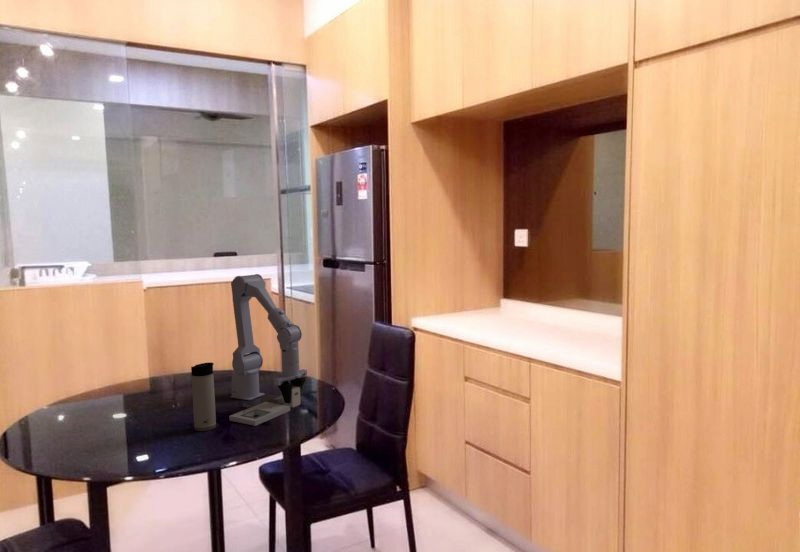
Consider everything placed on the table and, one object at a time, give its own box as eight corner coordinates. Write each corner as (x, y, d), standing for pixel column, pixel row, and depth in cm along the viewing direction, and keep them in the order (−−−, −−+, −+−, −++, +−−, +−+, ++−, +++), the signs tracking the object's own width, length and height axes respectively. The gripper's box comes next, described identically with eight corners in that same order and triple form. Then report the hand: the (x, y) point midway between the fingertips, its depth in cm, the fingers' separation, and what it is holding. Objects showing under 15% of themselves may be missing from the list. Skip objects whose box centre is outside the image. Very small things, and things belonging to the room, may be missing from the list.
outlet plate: (229, 420, 175) (229, 415, 175) (265, 406, 189) (265, 401, 189) (255, 425, 170) (255, 420, 169) (290, 410, 183) (290, 405, 183)
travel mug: (210, 432, 165) (206, 365, 164) (190, 431, 167) (186, 365, 165) (221, 424, 171) (217, 360, 170) (201, 423, 173) (198, 360, 171)
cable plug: (265, 412, 185) (265, 405, 185) (260, 411, 186) (259, 404, 186) (286, 403, 194) (286, 396, 194) (281, 402, 195) (281, 395, 195)
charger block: (283, 405, 189) (283, 388, 188) (291, 402, 192) (290, 385, 192) (293, 407, 187) (292, 390, 186) (301, 404, 190) (300, 387, 190)
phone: (243, 407, 189) (242, 403, 189) (268, 397, 199) (267, 394, 199) (255, 409, 186) (254, 406, 186) (279, 399, 196) (279, 396, 196)
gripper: (285, 367, 180) (286, 408, 181) (313, 358, 193) (314, 396, 194) (268, 365, 184) (270, 405, 185) (297, 356, 196) (299, 394, 197)
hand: (292, 400), depth 189 cm, fingers closed on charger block, 4 cm apart
